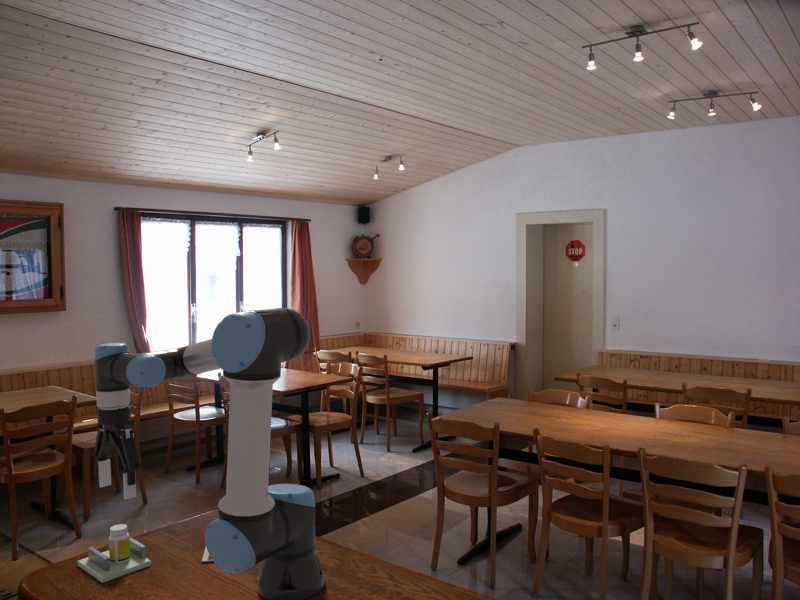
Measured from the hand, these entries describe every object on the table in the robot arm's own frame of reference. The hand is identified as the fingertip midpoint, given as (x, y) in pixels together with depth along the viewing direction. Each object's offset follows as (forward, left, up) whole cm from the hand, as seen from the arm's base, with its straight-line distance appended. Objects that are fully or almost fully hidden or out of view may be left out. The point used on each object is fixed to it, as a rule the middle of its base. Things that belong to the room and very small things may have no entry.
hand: (117, 491), depth 163 cm
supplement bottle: (0, 0, -18) cm, 18 cm away
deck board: (+1, +1, -19) cm, 19 cm away
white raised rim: (-14, -22, -19) cm, 32 cm away
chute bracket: (+2, 0, -17) cm, 17 cm away
